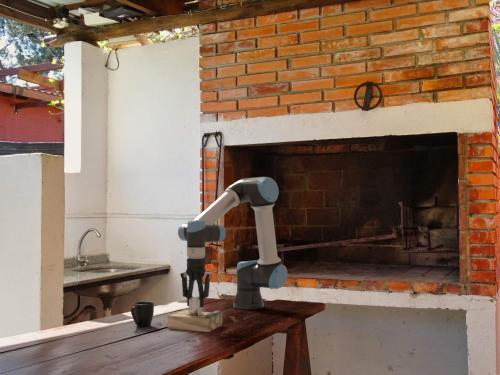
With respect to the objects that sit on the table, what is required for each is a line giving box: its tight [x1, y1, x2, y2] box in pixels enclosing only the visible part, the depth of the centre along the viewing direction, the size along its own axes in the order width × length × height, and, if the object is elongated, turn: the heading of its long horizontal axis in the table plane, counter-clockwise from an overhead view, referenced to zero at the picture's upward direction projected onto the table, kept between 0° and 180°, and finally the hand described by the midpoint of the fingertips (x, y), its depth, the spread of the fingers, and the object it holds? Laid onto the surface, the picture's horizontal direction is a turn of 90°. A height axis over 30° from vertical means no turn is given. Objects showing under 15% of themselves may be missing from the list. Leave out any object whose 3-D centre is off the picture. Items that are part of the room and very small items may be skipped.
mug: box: [130, 301, 155, 328], centre depth 229 cm, size 8×12×10 cm
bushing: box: [190, 295, 201, 316], centre depth 230 cm, size 4×4×9 cm
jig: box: [167, 309, 223, 333], centre depth 229 cm, size 14×18×6 cm
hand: (195, 314), depth 229 cm, fingers closed on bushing, 3 cm apart
